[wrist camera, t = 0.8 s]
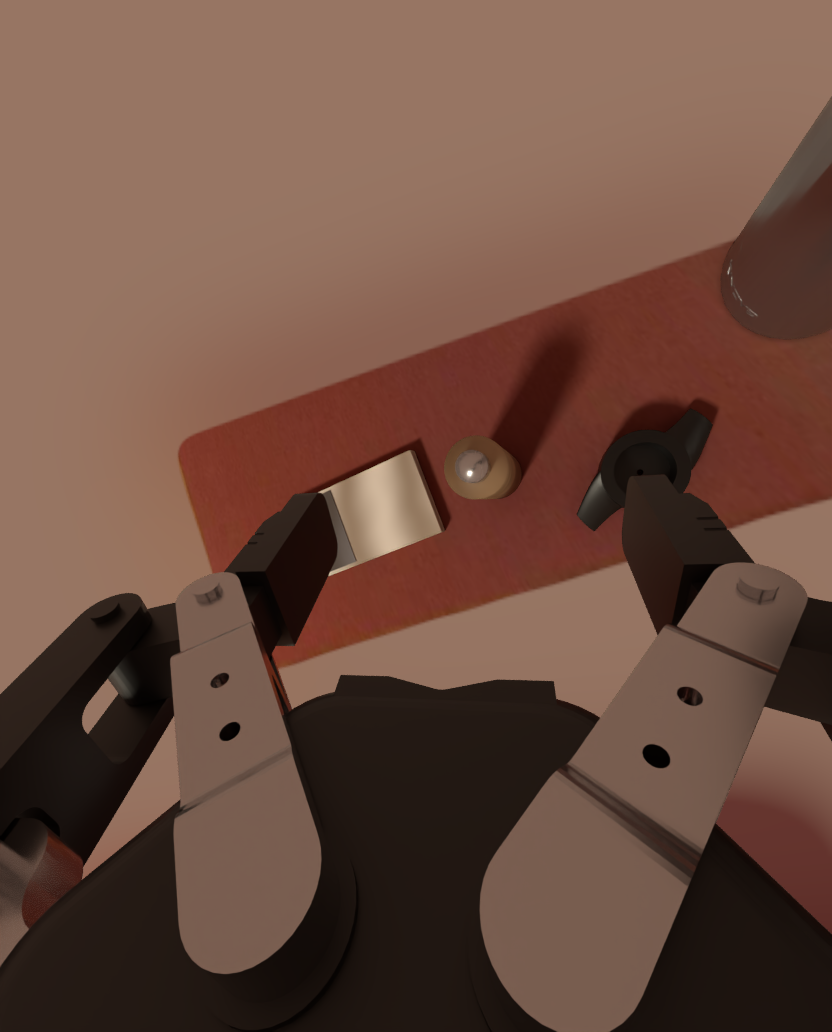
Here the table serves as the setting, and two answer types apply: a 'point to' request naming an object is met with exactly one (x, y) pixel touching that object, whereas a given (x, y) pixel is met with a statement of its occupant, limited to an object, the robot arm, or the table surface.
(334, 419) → the table surface
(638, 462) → the black winged cup
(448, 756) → the robot arm
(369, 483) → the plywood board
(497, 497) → the wooden pepper mill
